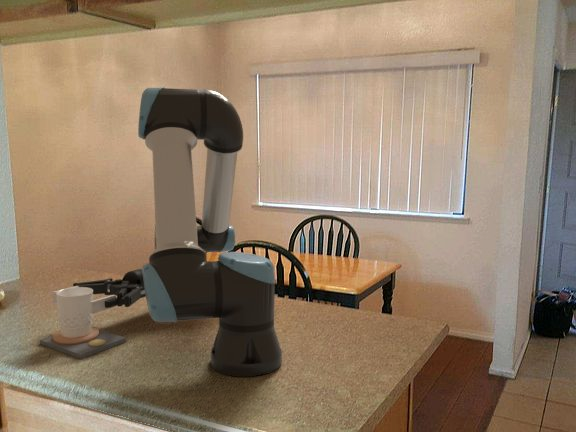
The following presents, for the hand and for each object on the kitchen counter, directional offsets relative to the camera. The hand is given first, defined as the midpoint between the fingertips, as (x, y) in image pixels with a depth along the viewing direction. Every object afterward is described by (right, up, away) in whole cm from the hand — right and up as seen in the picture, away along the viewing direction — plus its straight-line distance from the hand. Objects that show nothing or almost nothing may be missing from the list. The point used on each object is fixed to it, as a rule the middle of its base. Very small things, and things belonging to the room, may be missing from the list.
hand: (71, 302), depth 119 cm
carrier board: (+2, -9, 0) cm, 10 cm away
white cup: (0, -8, +2) cm, 8 cm away
